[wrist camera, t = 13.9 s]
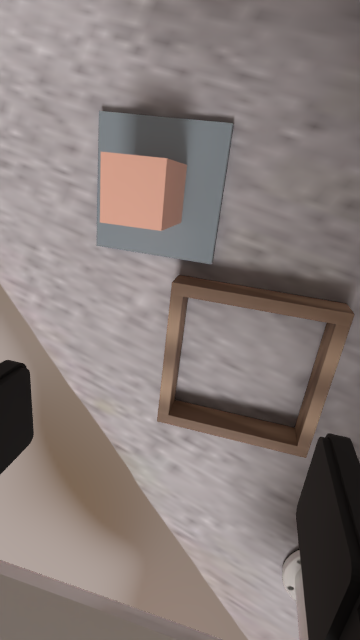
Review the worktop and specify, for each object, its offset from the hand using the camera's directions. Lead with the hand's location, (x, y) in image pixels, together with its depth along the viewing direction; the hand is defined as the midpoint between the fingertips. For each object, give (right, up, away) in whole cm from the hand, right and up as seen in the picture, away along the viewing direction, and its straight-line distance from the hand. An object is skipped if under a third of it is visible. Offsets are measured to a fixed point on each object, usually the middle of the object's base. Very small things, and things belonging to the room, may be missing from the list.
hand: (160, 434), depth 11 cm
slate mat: (-1, +16, +22) cm, 27 cm away
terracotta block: (-1, +16, +21) cm, 26 cm away
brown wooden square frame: (+8, -1, +26) cm, 27 cm away
